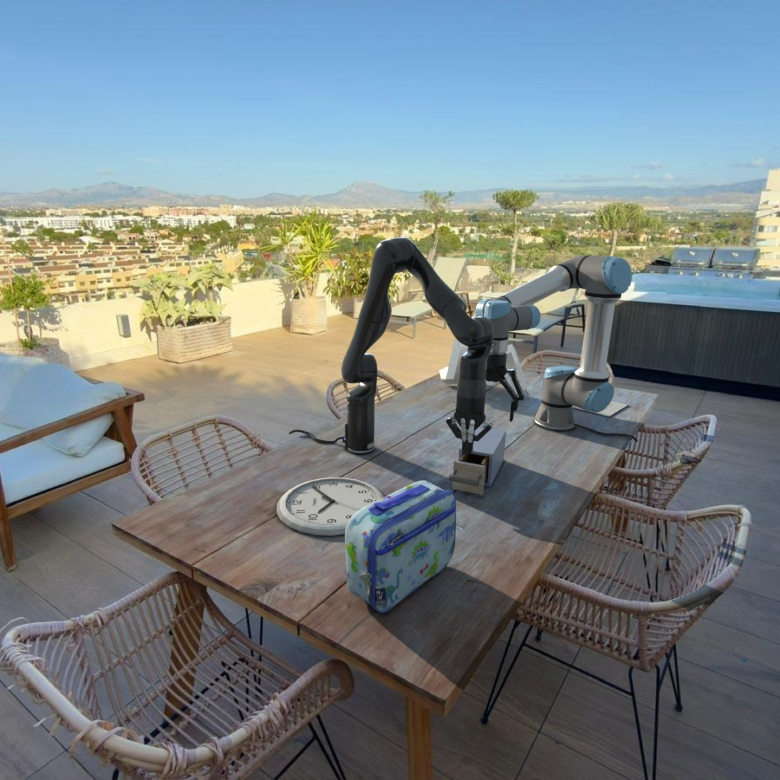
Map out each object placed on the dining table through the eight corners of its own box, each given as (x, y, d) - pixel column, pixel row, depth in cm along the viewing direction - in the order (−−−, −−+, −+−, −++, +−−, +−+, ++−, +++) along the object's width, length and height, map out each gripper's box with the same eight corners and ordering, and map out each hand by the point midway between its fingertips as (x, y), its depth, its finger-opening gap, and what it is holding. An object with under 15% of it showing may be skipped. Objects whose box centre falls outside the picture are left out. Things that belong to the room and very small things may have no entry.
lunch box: (374, 626, 100) (375, 530, 93) (338, 598, 107) (337, 508, 101) (459, 568, 117) (465, 484, 111) (424, 547, 124) (427, 467, 118)
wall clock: (392, 527, 129) (268, 531, 127) (391, 533, 130) (269, 537, 127) (383, 473, 158) (282, 475, 155) (383, 478, 158) (282, 480, 156)
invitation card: (608, 416, 214) (573, 407, 224) (608, 416, 214) (573, 408, 224) (628, 404, 229) (594, 396, 238) (628, 405, 229) (594, 397, 238)
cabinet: (490, 487, 154) (492, 454, 151) (457, 480, 158) (459, 448, 155) (503, 460, 172) (506, 430, 169) (473, 454, 176) (475, 425, 173)
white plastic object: (461, 429, 252) (437, 405, 227) (444, 352, 274) (420, 323, 250) (535, 404, 240) (518, 377, 215) (510, 326, 262) (492, 293, 237)
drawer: (477, 504, 143) (479, 476, 140) (446, 497, 146) (447, 469, 144) (496, 467, 165) (498, 442, 162) (469, 462, 168) (470, 438, 165)
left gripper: (442, 393, 137) (439, 454, 142) (493, 400, 132) (488, 463, 137) (451, 386, 143) (447, 444, 148) (499, 392, 138) (494, 452, 144)
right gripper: (451, 350, 161) (448, 415, 168) (534, 359, 152) (527, 426, 158) (458, 345, 168) (455, 407, 174) (538, 353, 159) (531, 418, 165)
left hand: (467, 453), depth 143 cm, fingers closed
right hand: (489, 417), depth 166 cm, fingers open, 13 cm apart
